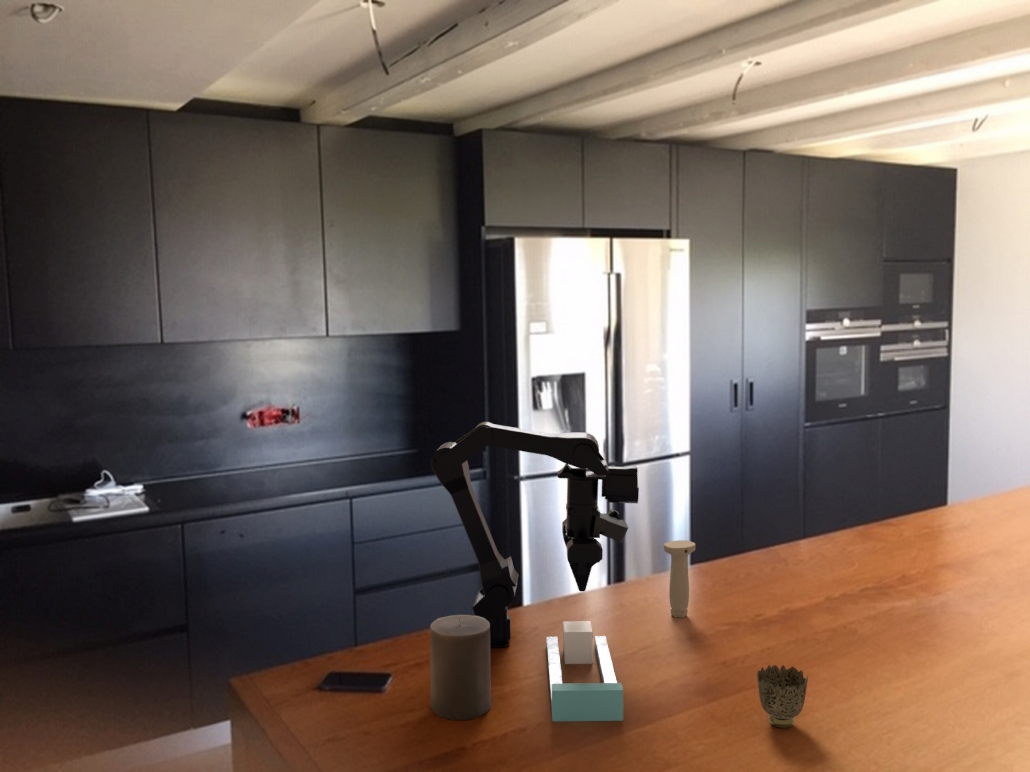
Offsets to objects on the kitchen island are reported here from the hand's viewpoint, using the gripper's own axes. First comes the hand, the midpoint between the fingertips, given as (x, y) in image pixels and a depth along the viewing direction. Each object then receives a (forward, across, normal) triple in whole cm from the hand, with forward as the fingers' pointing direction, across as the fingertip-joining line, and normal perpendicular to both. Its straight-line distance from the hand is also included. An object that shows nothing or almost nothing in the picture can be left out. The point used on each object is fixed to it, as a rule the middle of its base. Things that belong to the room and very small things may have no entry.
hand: (580, 582), depth 167 cm
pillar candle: (+13, -25, +21) cm, 35 cm away
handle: (+11, +13, -22) cm, 28 cm away
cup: (+11, -32, -29) cm, 44 cm away
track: (+12, -16, +1) cm, 20 cm away
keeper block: (+12, -7, +1) cm, 14 cm away
